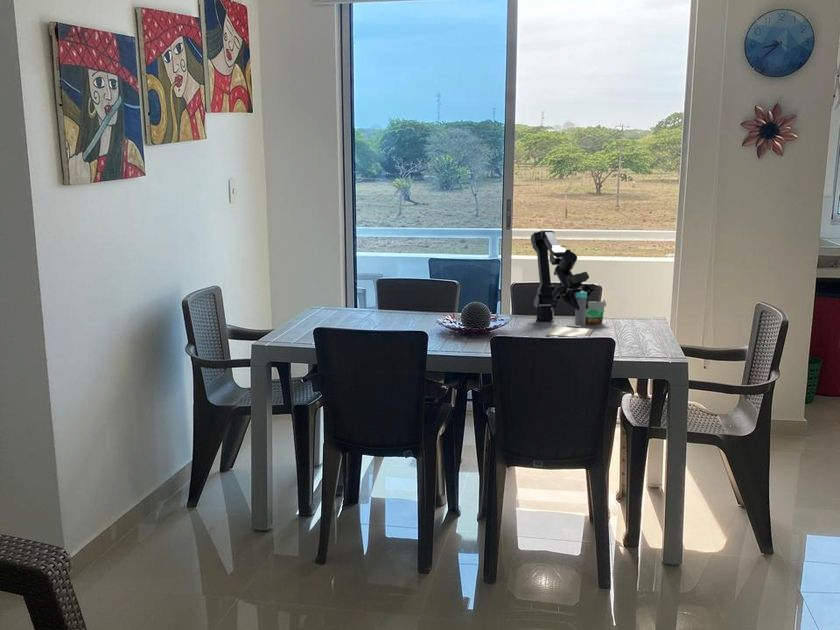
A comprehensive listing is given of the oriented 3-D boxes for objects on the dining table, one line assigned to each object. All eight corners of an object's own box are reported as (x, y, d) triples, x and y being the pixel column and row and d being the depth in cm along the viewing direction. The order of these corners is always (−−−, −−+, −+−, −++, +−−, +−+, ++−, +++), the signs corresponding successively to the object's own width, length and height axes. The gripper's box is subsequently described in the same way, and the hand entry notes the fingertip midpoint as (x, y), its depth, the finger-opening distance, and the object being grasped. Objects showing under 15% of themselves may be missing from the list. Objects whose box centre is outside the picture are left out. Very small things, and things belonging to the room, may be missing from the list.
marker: (573, 325, 321) (575, 292, 318) (575, 323, 325) (577, 291, 322) (584, 326, 320) (585, 293, 317) (586, 324, 323) (587, 291, 321)
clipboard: (545, 336, 323) (545, 333, 323) (555, 327, 340) (555, 324, 340) (586, 340, 317) (586, 336, 317) (593, 330, 335) (593, 327, 335)
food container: (582, 326, 343) (583, 303, 341) (577, 323, 349) (578, 300, 347) (610, 325, 345) (611, 302, 343) (604, 322, 351) (605, 299, 349)
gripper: (557, 266, 316) (574, 299, 309) (594, 263, 325) (611, 295, 318) (544, 283, 325) (560, 315, 318) (580, 280, 334) (597, 311, 327)
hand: (582, 308), depth 320 cm, fingers closed on marker, 4 cm apart
